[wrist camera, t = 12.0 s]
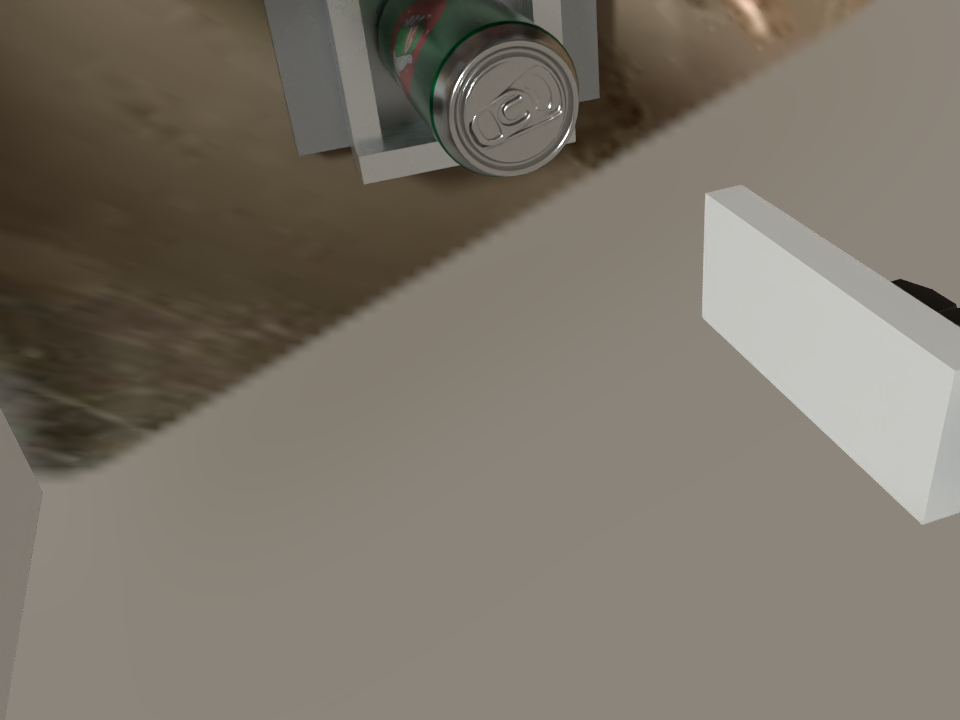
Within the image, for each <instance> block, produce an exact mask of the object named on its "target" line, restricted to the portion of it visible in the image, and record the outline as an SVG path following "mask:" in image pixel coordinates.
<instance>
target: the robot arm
mask: <svg viewBox="0 0 960 720" xmlns="http://www.w3.org/2000/svg"><path fill="white" fill-rule="evenodd" d="M704 226H705V227H704V260H703V297H702V298H703V299H702V301H703V302H702V317H703V319H705V320H706V321H707V322H708V323H709V324H710V325H711V326H712V327H713V328H714V329H715V330H716V331H717V332H718V333H720V334H721V335H722V336H723V337H724V338H725V339H726V340H727V341H728V342H729V343H730V344H731V345H732V346H733V347H734V348H735V349H736V350H737V351H739V352H740V353H741V354H742V355H743V356H744V357H745V358H746V359H747V360H748V361H749V362H750V363H751V364H752V365H753V366H754V367H755V368H757V369H758V370H759V371H760V372H761V373H762V374H763V375H764V376H765V377H766V378H767V379H768V380H769V381H770V382H771V383H772V384H774V385H775V386H776V387H777V388H778V389H779V390H780V391H781V392H782V393H783V394H784V395H785V396H786V397H787V398H788V399H789V400H790V401H791V402H793V403H794V404H795V405H796V406H797V407H798V408H799V409H800V410H801V411H802V412H803V413H804V414H805V415H807V417H808V418H810V419H811V420H812V421H813V422H814V423H815V424H816V425H817V426H818V427H819V428H820V429H821V430H822V431H823V432H824V433H825V434H827V435H828V436H829V437H830V438H831V439H832V440H833V441H834V442H835V443H836V444H837V445H838V446H839V447H840V448H841V449H843V451H845V452H846V453H847V454H848V455H849V456H850V457H851V458H852V459H853V460H854V461H855V462H856V463H857V464H858V465H859V466H860V467H861V468H863V469H864V470H865V471H866V472H867V473H868V474H869V475H870V476H871V477H872V478H873V479H874V480H875V481H877V483H878V484H880V485H881V486H882V487H883V488H884V489H885V490H886V491H887V492H888V493H889V494H890V495H891V496H892V497H893V498H894V499H895V500H896V501H898V502H899V503H900V504H901V505H902V506H903V507H904V508H905V509H906V510H907V511H908V512H909V513H910V514H911V515H912V516H913V517H915V518H916V519H917V520H918V521H919V522H920V523H921V524H922V525H923V524H927V523H930V522H933V521H936V520H939V519H942V518H945V517H948V516H951V515H954V514H957V513H960V308H957V306H956V304H955V303H953V302H952V301H950V300H948V299H947V298H945V297H944V296H942V295H940V294H939V293H937V292H936V291H934V290H932V289H929V288H926V287H923V286H920V285H917V284H914V283H911V282H908V281H905V280H902V279H898V280H895V281H891V282H890V281H888V280H887V279H885V278H884V277H882V276H881V275H879V274H878V273H876V272H874V271H873V270H871V269H870V268H868V267H867V266H865V265H864V264H862V263H861V262H859V261H858V260H856V259H855V258H853V257H852V256H850V255H848V254H847V253H845V252H844V251H842V250H841V249H839V248H838V247H836V246H835V245H833V244H832V243H830V242H828V241H827V240H825V239H824V238H822V237H821V236H819V235H818V234H816V233H815V232H813V231H812V230H810V229H809V228H807V227H806V226H804V225H803V224H801V223H799V222H798V221H796V220H795V219H793V218H792V217H790V216H789V215H787V214H786V213H784V212H783V211H781V210H780V209H778V208H776V207H775V206H773V205H772V204H770V203H769V202H767V201H766V200H764V199H763V198H761V197H760V196H758V195H756V194H755V193H754V192H752V191H750V190H749V189H747V188H746V187H744V186H743V185H738V186H733V187H729V188H725V189H721V190H717V191H712V192H708V193H706V194H705V224H704ZM41 498H42V490H41V488H40V486H39V484H38V482H37V480H36V478H35V476H34V474H33V472H32V470H31V468H30V466H29V464H28V462H27V460H26V458H25V456H24V454H23V452H22V450H21V448H20V446H19V444H18V442H17V440H16V438H15V436H14V434H13V432H12V430H11V428H10V426H9V424H8V422H7V420H6V418H5V416H4V414H3V412H2V410H1V408H0V720H5V716H6V710H7V703H8V698H9V691H10V685H11V679H12V673H13V667H14V661H15V655H16V649H17V643H18V637H19V631H20V625H21V619H22V613H23V607H24V600H25V595H26V588H27V582H28V576H29V570H30V564H31V558H32V551H33V546H34V540H35V534H36V528H37V522H38V516H39V510H40V503H41Z"/></svg>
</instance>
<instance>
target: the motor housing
mask: <svg viewBox="0 0 960 720" xmlns="http://www.w3.org/2000/svg"><path fill="white" fill-rule="evenodd" d="M388 1H389V0H263V3H264V7H265V11H266V16H267V20H268V25H269V29H270V34H271V38H272V42H273V47H274V51H275V56H276V60H277V65H278V69H279V74H280V78H281V82H282V87H283V91H284V96H285V100H286V105H287V109H288V114H289V118H290V122H291V127H292V131H293V136H294V140H295V145H296V148H297V152H298V155H299V156H303V155H308V154H313V153H318V152H324V151H329V150H334V149H339V148H344V147H349V146H351V151H352V156H353V161H354V164H355V166H356V168H357V170H358V173H359V175H360V177H361V179H362V182H363V184H369V183H373V182H378V181H383V180H388V179H393V178H398V177H403V176H408V175H413V174H418V173H423V172H428V171H433V170H438V169H443V168H448V167H453V166H458V165H459V164H458V163H456V162H455V161H454V160H453V159H452V158H451V157H450V156H449V155H448V154H447V153H446V152H445V150H444V149H443V148H442V146H441V145H440V144H439V142H438V141H437V139H436V138H435V137H434V135H433V134H432V132H431V131H430V130H429V128H428V127H427V125H426V124H425V123H424V121H423V120H422V118H421V117H420V116H419V114H418V113H417V111H416V110H415V109H414V107H413V106H412V104H411V103H410V102H409V100H408V99H407V97H406V96H405V95H404V93H403V92H402V90H401V89H400V88H399V86H398V85H397V84H396V82H395V81H394V79H393V78H392V77H391V75H390V74H389V72H388V71H387V69H386V67H385V65H384V63H383V61H382V58H381V55H380V51H379V45H378V29H379V22H380V19H381V15H382V12H383V10H384V8H385V6H386V4H387V2H388ZM499 1H501V2H502V3H504V4H505V5H507V6H509V7H510V8H512V9H513V10H515V11H516V12H518V13H520V14H521V15H523V16H524V17H526V18H527V19H529V20H531V21H532V22H534V23H535V24H537V25H538V26H540V27H542V28H543V29H545V30H546V31H548V32H549V33H551V34H552V35H553V36H554V37H555V38H557V39H558V40H559V41H560V43H561V44H562V45H563V46H564V47H565V49H566V50H567V52H568V54H569V55H570V57H571V59H572V61H573V64H574V66H575V69H576V73H577V77H578V83H579V102H582V101H588V100H593V99H598V98H600V94H599V67H598V39H597V12H596V0H499ZM573 142H576V135H575V127H574V130H573V132H572V135H571V136H570V138H569V140H568V142H567V143H566V144H568V143H573Z"/></svg>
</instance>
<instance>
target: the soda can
mask: <svg viewBox="0 0 960 720" xmlns="http://www.w3.org/2000/svg"><path fill="white" fill-rule="evenodd" d="M378 45H379V51H380V55H381V58H382V61H383V63H384V65H385V67H386V69H387V71H388V72H389V74H390V75H391V77H392V78H393V79H394V81H395V82H396V84H397V85H398V86H399V88H400V89H401V90H402V92H403V93H404V95H405V96H406V97H407V99H408V100H409V102H410V103H411V104H412V106H413V107H414V109H415V110H416V111H417V113H418V114H419V116H420V117H421V118H422V120H423V121H424V123H425V124H426V125H427V127H428V128H429V130H430V131H431V132H432V134H433V135H434V137H435V138H436V139H437V141H438V142H439V144H440V145H441V146H442V148H443V149H444V150H445V152H446V153H447V154H448V155H449V156H450V157H451V158H452V159H453V160H454V161H455V162H456V163H458V164H459V165H461V166H462V167H463V168H465V169H467V170H470V171H472V172H474V173H477V174H481V175H484V176H492V177H504V176H518V175H523V174H527V173H529V172H532V171H535V170H537V169H539V168H541V167H542V166H544V165H546V164H547V163H548V162H550V161H551V160H552V159H553V158H554V157H555V156H556V155H557V154H558V153H559V152H560V151H561V150H562V149H563V147H564V146H565V145H566V143H567V142H568V140H569V138H570V136H571V135H572V132H573V130H574V127H575V125H576V121H577V117H578V110H579V83H578V77H577V73H576V69H575V66H574V64H573V61H572V59H571V57H570V55H569V54H568V52H567V50H566V49H565V47H564V46H563V45H562V44H561V43H560V41H559V40H558V39H557V38H555V37H554V36H553V35H552V34H551V33H549V32H548V31H546V30H545V29H543V28H542V27H540V26H538V25H537V24H535V23H534V22H532V21H531V20H529V19H527V18H526V17H524V16H523V15H521V14H520V13H518V12H516V11H515V10H513V9H512V8H510V7H509V6H507V5H505V4H504V3H502V2H501V1H499V0H389V1H388V2H387V4H386V6H385V8H384V10H383V12H382V15H381V19H380V22H379V29H378Z"/></svg>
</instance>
